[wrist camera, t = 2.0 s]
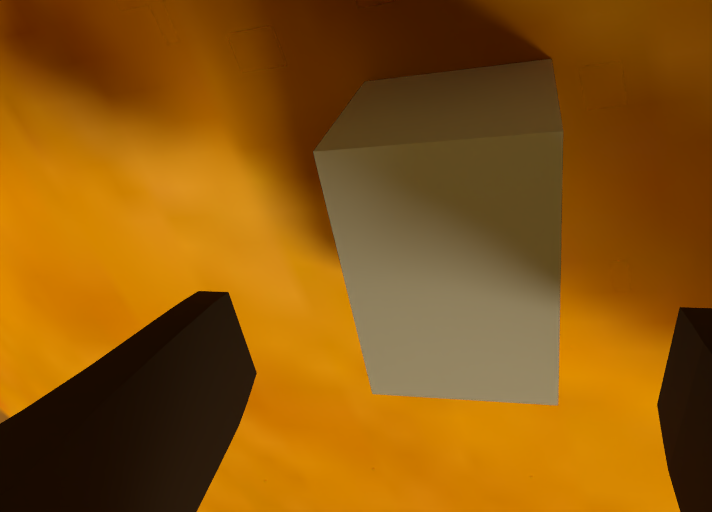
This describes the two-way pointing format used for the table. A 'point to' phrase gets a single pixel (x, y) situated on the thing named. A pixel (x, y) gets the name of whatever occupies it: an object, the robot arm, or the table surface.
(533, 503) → the table surface
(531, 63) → the carton
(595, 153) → the table surface
